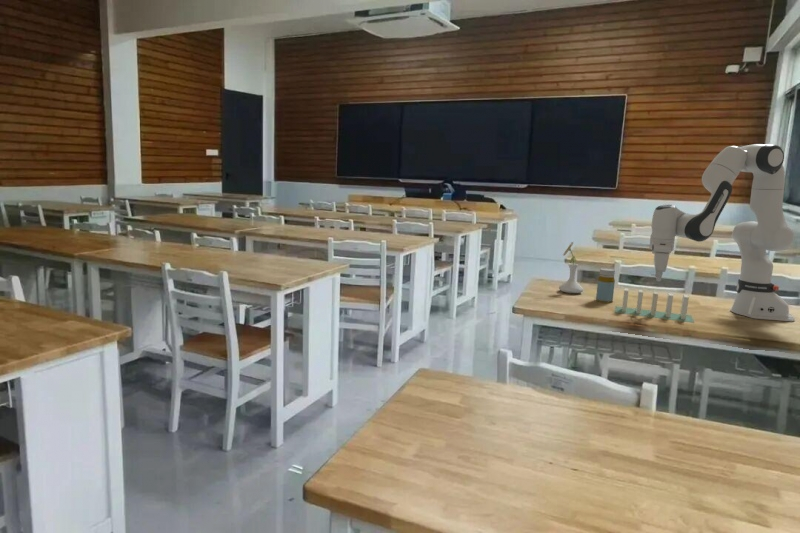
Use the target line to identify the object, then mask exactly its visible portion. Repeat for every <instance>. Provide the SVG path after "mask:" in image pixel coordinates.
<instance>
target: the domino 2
mask: <svg viewBox="0 0 800 533" xmlns="http://www.w3.org/2000/svg"><path fill="white" fill-rule="evenodd" d="M658 298H659V291H653V292H652V299H651V308H650V310H651V315H654V316H655V315H656V311H657V306H658Z"/></svg>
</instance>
